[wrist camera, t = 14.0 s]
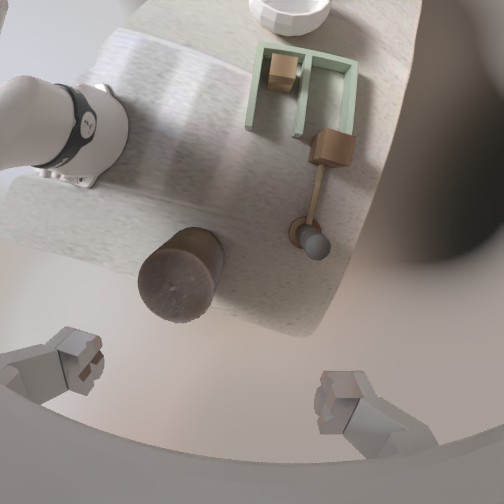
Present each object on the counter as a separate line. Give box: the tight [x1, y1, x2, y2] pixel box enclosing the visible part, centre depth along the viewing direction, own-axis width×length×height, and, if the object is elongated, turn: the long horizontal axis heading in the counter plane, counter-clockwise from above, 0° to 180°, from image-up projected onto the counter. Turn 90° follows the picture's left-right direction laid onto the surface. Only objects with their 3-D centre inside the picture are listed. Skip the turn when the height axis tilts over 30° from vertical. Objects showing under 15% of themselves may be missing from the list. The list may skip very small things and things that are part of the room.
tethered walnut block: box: [289, 128, 356, 260], centre depth 39 cm, size 5×18×10 cm, turn 168°
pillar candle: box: [138, 227, 224, 323], centre depth 40 cm, size 10×10×15 cm
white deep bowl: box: [249, 0, 332, 36], centre depth 32 cm, size 12×12×10 cm
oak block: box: [267, 53, 298, 93], centre depth 37 cm, size 4×4×7 cm
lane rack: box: [245, 42, 358, 138], centre depth 39 cm, size 15×14×4 cm
